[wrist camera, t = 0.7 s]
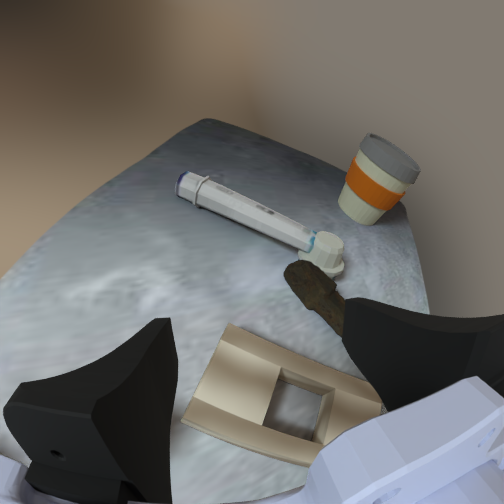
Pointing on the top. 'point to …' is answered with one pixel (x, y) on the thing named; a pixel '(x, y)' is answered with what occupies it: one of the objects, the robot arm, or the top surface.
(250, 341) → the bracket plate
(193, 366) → the top surface
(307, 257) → the white elongated piece
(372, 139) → the reusable coffee cup
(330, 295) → the dark brown wood piece
